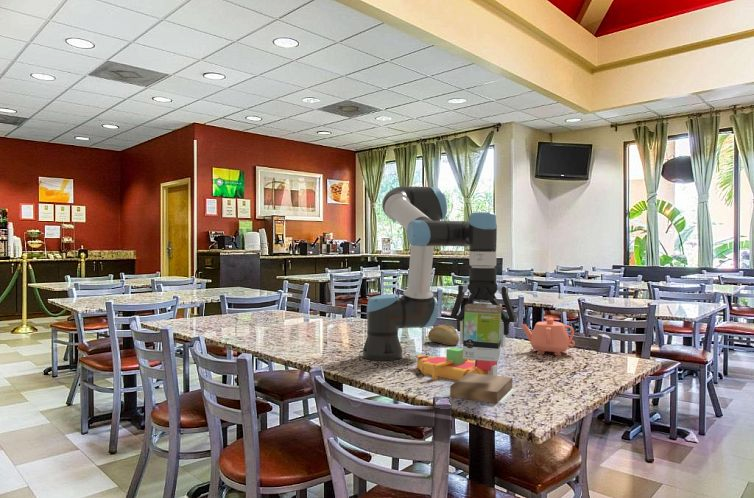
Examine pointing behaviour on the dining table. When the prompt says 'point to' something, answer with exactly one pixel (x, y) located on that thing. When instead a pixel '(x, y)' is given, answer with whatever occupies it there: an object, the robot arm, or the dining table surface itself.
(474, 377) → the pedestal
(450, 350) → the raft
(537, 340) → the teapot
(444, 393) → the blueprint board
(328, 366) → the dining table surface
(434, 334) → the bread roll
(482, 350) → the tea box
